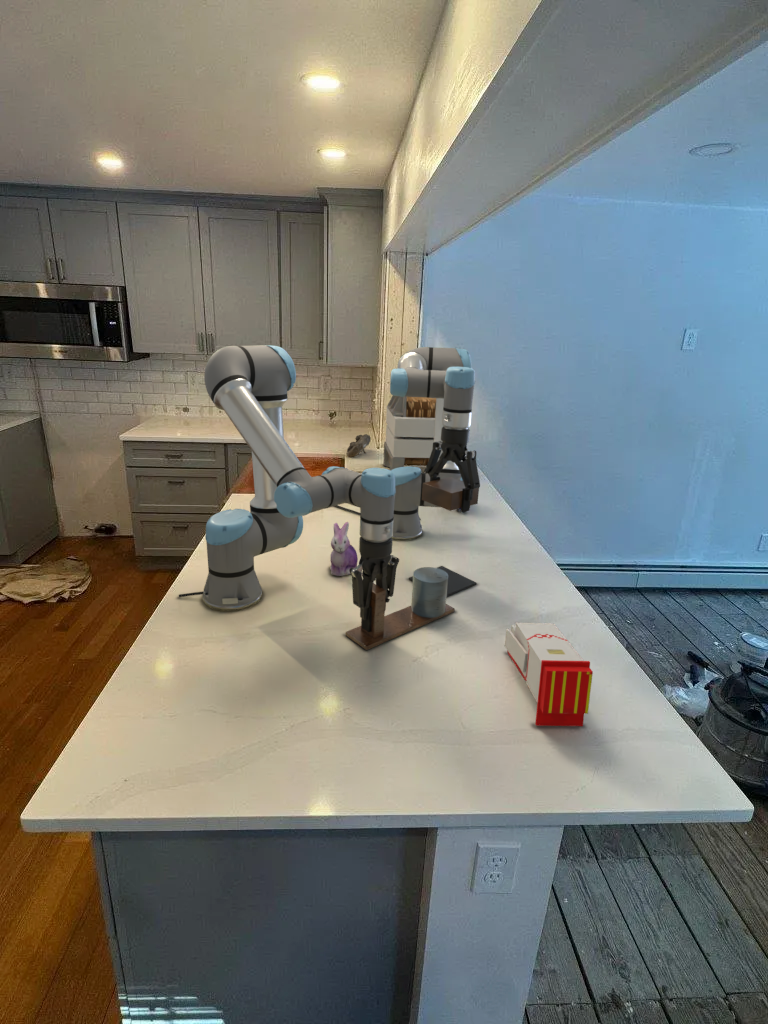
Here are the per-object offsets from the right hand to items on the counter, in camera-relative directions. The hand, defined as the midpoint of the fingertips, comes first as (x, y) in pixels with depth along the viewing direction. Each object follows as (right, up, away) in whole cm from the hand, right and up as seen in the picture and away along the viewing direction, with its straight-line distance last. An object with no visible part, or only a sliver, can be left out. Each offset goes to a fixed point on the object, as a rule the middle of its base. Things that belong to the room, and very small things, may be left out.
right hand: (449, 505), depth 158 cm
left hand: (-21, -30, -22) cm, 42 cm away
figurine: (-30, -19, +13) cm, 38 cm away
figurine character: (+13, 0, +71) cm, 73 cm away
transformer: (-1, +17, +117) cm, 118 cm away
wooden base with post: (-13, -30, -14) cm, 36 cm away
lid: (0, +1, 0) cm, 1 cm away
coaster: (-1, -22, +8) cm, 24 cm away
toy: (+15, -39, -35) cm, 55 cm away
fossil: (-32, +30, +149) cm, 155 cm away
